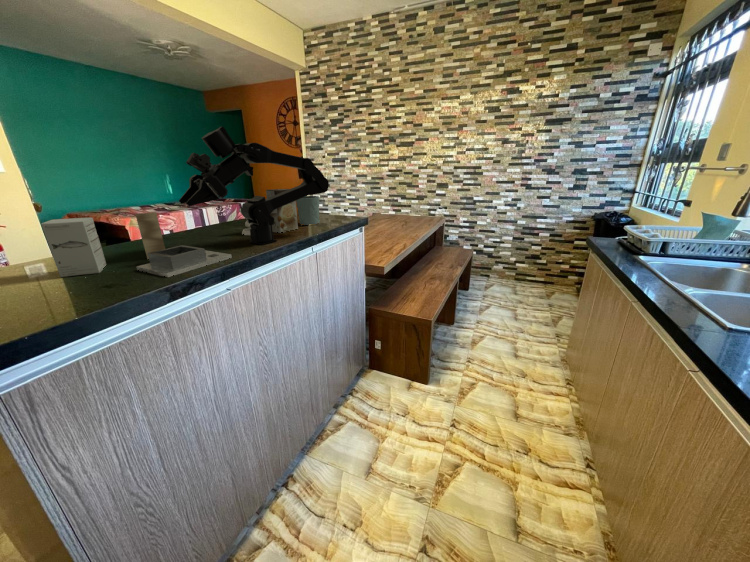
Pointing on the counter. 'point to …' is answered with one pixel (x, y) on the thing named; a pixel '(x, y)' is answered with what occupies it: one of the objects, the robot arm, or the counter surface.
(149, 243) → the square peg
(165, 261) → the socket plate
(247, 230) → the hook
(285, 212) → the coffee box
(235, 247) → the counter surface
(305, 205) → the grey tapered cup
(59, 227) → the supplement box
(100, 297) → the counter surface
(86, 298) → the counter surface
